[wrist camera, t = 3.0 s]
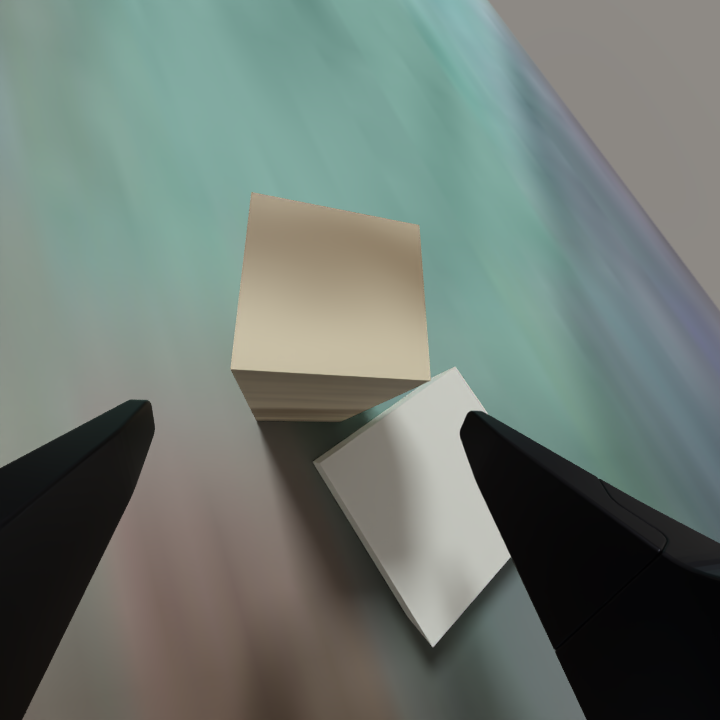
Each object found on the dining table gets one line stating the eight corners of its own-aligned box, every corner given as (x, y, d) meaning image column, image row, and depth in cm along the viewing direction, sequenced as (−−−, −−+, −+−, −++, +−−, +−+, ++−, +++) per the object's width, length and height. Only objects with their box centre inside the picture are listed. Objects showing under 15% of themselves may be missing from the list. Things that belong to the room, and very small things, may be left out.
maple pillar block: (340, 422, 19) (430, 380, 8) (256, 420, 18) (230, 368, 7) (340, 346, 21) (419, 225, 10) (263, 340, 19) (251, 192, 8)
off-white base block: (407, 616, 17) (432, 647, 14) (312, 461, 18) (319, 463, 15) (515, 500, 21) (552, 507, 18) (432, 377, 22) (455, 366, 19)
